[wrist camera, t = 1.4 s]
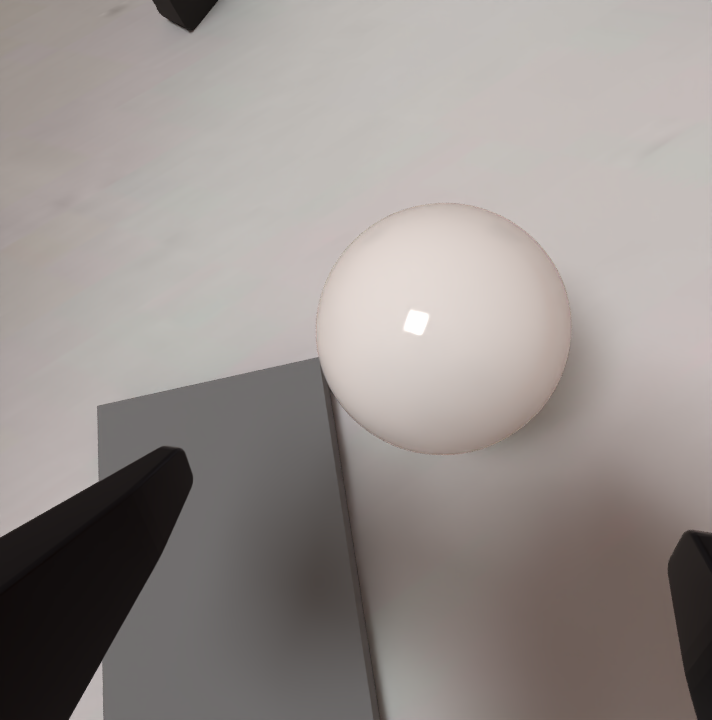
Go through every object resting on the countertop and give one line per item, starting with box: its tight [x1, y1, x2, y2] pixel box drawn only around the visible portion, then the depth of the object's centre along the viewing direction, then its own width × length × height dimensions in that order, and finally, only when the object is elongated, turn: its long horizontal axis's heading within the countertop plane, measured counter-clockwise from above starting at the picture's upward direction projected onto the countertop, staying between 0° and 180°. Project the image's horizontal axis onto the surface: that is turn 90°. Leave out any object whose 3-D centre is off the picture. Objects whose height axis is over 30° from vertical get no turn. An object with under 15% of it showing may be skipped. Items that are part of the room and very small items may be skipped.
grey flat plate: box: [97, 357, 380, 720], centre depth 19 cm, size 18×11×1 cm, turn 10°
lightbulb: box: [316, 203, 572, 455], centre depth 14 cm, size 6×6×11 cm
